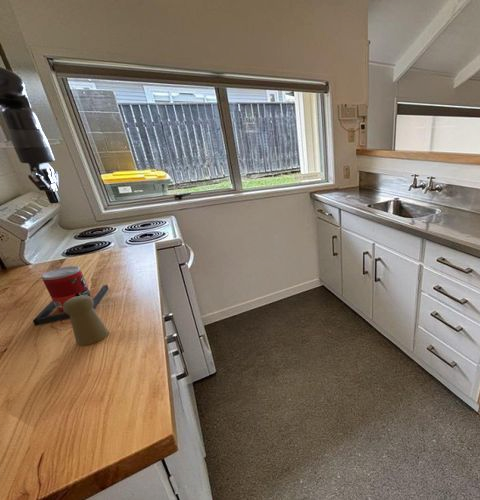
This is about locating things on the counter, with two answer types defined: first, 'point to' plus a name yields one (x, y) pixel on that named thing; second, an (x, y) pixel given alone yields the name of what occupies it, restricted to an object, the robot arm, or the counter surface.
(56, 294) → the canned food
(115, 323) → the counter surface
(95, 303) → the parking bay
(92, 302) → the cork
